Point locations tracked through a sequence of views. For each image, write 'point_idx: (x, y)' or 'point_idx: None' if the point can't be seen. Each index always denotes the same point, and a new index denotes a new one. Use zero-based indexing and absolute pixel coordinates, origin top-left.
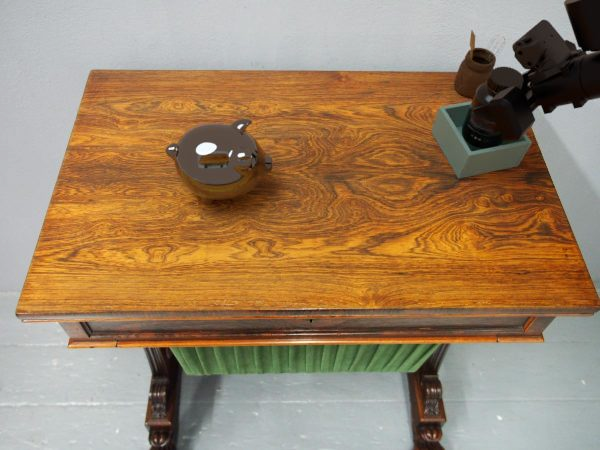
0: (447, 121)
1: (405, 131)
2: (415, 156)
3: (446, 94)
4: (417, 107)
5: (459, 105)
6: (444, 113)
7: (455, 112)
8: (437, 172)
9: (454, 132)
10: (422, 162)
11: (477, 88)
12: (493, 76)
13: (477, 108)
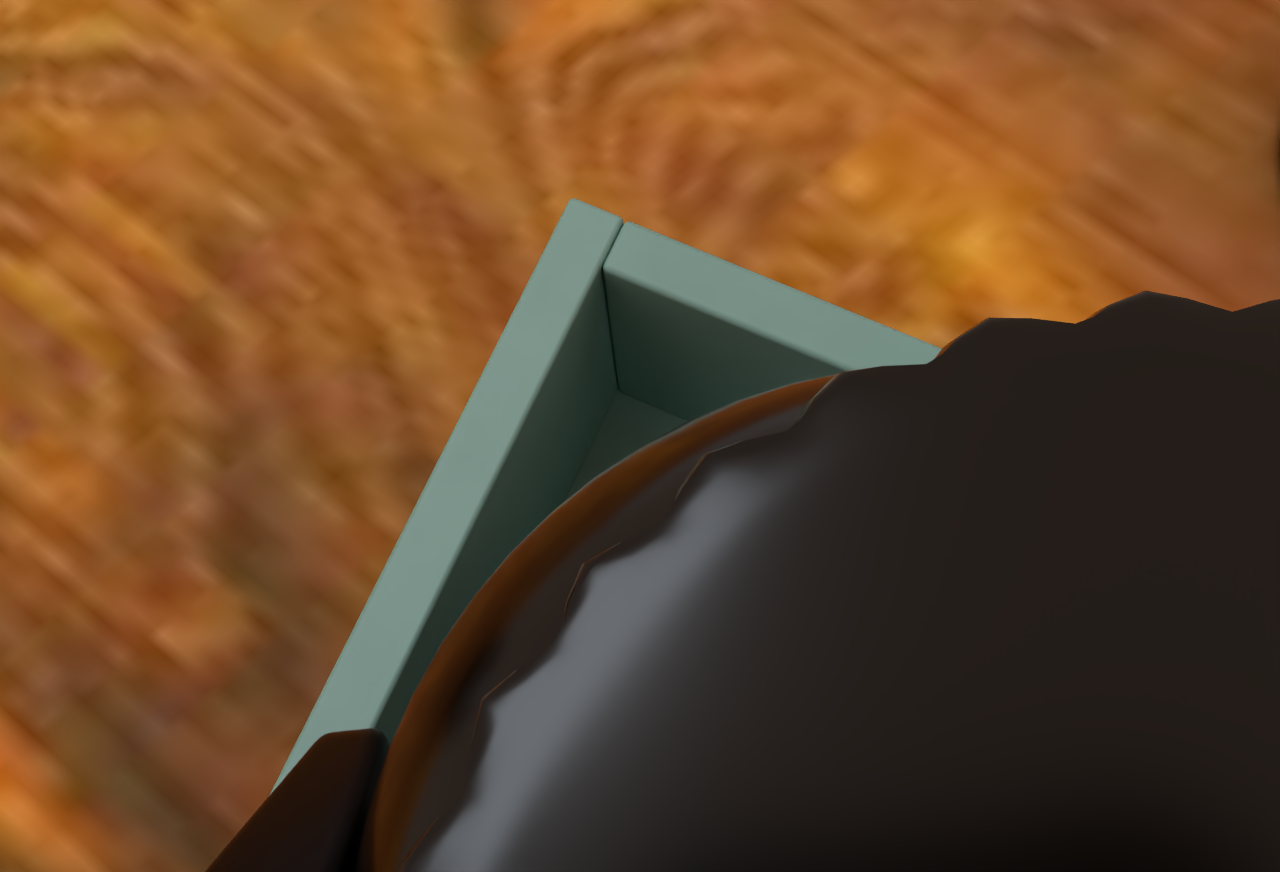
0: (445, 447)
1: (394, 200)
2: (197, 490)
3: (1151, 96)
4: (750, 51)
5: (822, 345)
6: (524, 322)
7: (773, 379)
8: (187, 792)
9: (345, 655)
10: (184, 592)
11: (728, 405)
12: (696, 650)
13: (218, 856)
